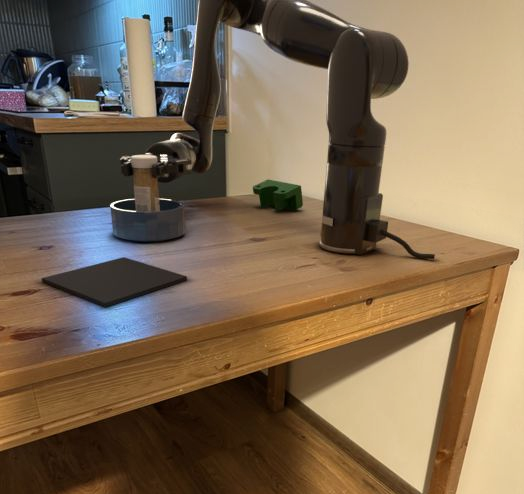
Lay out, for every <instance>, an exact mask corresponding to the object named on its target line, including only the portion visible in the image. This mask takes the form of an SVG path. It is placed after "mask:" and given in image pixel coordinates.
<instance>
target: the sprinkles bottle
mask: <svg viewBox="0 0 524 494" xmlns="http://www.w3.org/2000/svg"><path fill="white" fill-rule="evenodd" d="M130 157H131V166H132V167H133V175H132V177H133V194H134V199H135V205H136V211H160V204H159V199H160V192H159V182H158V181H157V178H153V176H152V165H153V164H156V163H157V157H156V156H153V155H144V154H135V155H131V156H130Z"/></svg>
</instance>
